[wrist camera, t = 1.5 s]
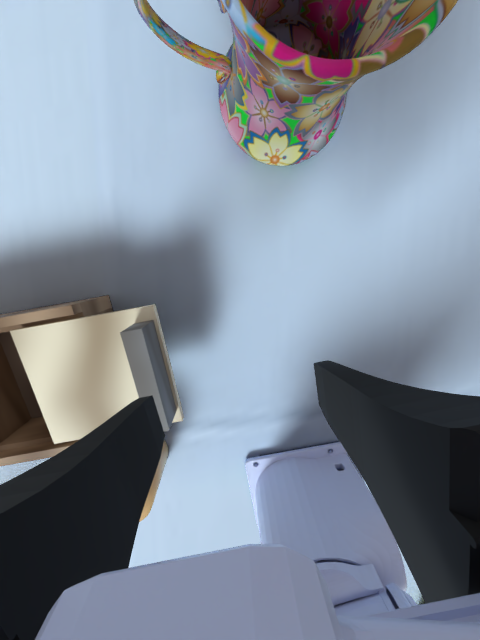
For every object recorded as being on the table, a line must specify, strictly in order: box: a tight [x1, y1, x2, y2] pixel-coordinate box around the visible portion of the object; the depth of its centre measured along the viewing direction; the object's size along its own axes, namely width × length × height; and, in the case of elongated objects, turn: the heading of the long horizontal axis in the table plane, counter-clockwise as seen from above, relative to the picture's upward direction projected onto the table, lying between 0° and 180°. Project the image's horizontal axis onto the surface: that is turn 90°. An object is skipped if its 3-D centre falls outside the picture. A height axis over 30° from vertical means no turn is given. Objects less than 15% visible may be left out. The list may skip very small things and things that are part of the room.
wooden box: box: [0, 295, 113, 466], centre depth 19 cm, size 10×10×5 cm
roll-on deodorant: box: [139, 440, 168, 522], centre depth 21 cm, size 5×5×5 cm
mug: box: [134, 0, 458, 166], centre depth 13 cm, size 12×9×11 cm
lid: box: [10, 304, 184, 444], centre depth 16 cm, size 9×8×3 cm
